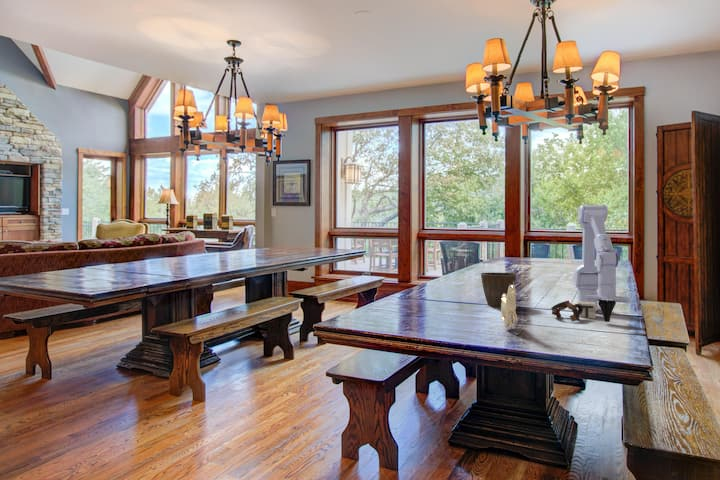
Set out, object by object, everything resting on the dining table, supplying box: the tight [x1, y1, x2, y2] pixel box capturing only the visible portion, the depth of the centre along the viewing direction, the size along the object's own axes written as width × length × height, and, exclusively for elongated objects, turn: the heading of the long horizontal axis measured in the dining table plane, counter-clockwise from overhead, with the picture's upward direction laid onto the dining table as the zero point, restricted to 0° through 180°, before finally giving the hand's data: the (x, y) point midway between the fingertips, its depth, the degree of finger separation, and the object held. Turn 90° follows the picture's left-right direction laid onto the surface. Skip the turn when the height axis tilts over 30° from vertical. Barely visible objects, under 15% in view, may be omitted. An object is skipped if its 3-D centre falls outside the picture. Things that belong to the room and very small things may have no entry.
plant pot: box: [480, 272, 517, 309], centre depth 213 cm, size 15×15×16 cm
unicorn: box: [500, 281, 518, 329], centre depth 172 cm, size 20×4×17 cm, turn 174°
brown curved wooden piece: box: [550, 300, 583, 322], centre depth 187 cm, size 12×9×8 cm
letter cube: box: [577, 302, 596, 319], centre depth 192 cm, size 6×6×6 cm
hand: (607, 321), depth 178 cm, fingers closed
